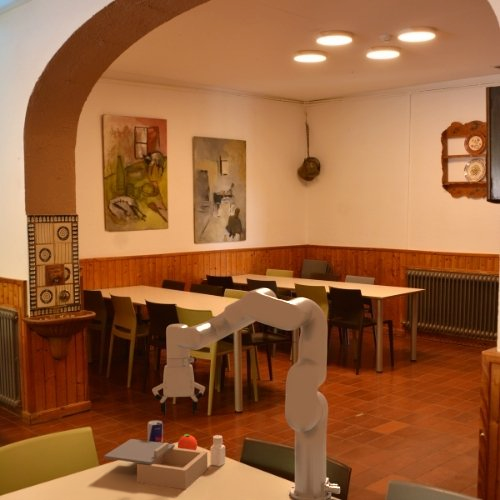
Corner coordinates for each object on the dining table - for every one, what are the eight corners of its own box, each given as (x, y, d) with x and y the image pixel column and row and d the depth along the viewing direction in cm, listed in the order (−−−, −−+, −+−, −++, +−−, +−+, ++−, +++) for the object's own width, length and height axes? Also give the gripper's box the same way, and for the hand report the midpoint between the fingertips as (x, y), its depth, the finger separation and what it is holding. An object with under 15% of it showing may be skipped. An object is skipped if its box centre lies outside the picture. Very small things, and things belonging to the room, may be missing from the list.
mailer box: (207, 469, 219) (207, 451, 219) (185, 489, 203) (185, 470, 203) (162, 463, 225) (161, 445, 224) (137, 482, 209) (137, 463, 208)
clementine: (174, 452, 235) (174, 432, 235) (192, 449, 238) (192, 429, 238) (181, 459, 228) (181, 439, 228) (200, 456, 231) (199, 436, 230)
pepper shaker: (209, 465, 223) (209, 437, 222) (215, 461, 226) (215, 434, 226) (220, 467, 221) (219, 439, 220) (225, 463, 224) (225, 435, 224)
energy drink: (160, 458, 229) (159, 425, 228) (145, 457, 230) (145, 424, 229) (165, 453, 234) (164, 420, 233) (150, 452, 235) (150, 419, 234)
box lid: (174, 446, 223) (174, 438, 222) (150, 464, 207) (150, 456, 207) (130, 441, 228) (130, 433, 228) (104, 458, 212) (104, 449, 212)
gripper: (204, 358, 219) (205, 409, 220) (152, 360, 218) (153, 410, 218) (204, 363, 212) (205, 415, 212) (150, 365, 210) (152, 417, 211)
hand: (179, 413), depth 215 cm, fingers open, 9 cm apart
